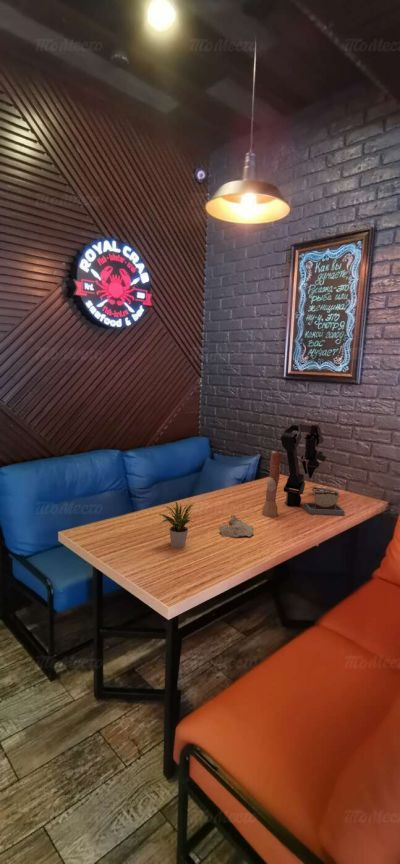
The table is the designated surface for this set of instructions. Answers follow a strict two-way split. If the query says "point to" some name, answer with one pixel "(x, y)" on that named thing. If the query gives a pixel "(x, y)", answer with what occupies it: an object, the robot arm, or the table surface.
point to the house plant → (178, 525)
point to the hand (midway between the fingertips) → (308, 476)
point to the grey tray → (323, 510)
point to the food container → (325, 498)
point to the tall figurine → (272, 486)
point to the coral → (236, 528)
